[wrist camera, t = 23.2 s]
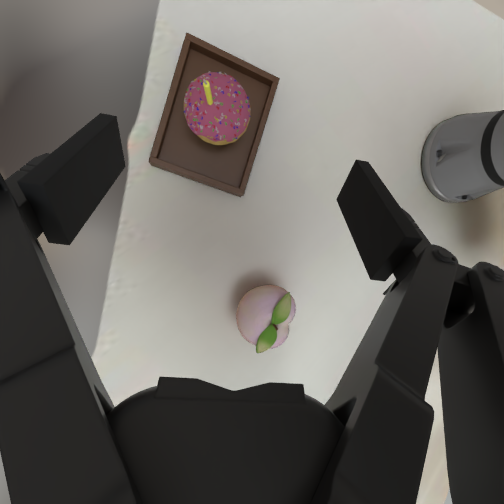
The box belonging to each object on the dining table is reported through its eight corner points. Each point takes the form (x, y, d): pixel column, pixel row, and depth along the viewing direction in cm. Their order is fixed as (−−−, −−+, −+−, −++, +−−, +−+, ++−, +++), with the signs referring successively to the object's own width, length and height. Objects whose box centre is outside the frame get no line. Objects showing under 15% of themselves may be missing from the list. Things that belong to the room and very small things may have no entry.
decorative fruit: (241, 271, 41) (256, 286, 32) (287, 284, 43) (314, 301, 34) (224, 326, 42) (233, 357, 32) (270, 336, 44) (292, 368, 34)
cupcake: (194, 158, 37) (195, 129, 25) (176, 97, 36) (167, 35, 24) (250, 146, 39) (274, 112, 27) (235, 86, 37) (253, 23, 26)
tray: (187, 44, 36) (186, 32, 34) (274, 86, 39) (279, 78, 37) (151, 165, 37) (148, 161, 34) (240, 197, 40) (243, 195, 38)
